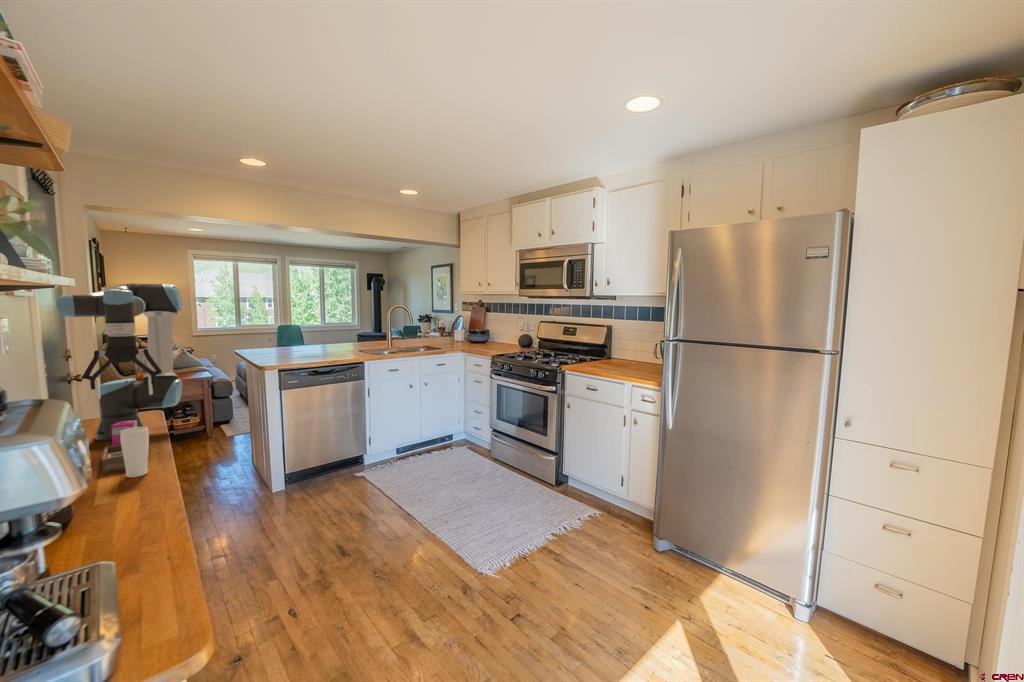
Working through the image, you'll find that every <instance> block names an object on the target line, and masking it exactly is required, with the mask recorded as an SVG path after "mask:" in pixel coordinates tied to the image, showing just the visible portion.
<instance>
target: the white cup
mask: <svg viewBox="0 0 1024 682" xmlns="http://www.w3.org/2000/svg"><path fill="white" fill-rule="evenodd" d="M120 440H121V448H122V453H123V459H124V464H125V476H126V477H127V478H129V479H130V478H138V477H143V476H145V475H146V474H148V472H149V468H148V467H149V447H150V435H149V427H147V426H144V427H133V428H127V429H124V430H122V431H120Z"/></svg>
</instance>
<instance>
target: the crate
mask: <svg viewBox="0 0 1024 682" xmlns="http://www.w3.org/2000/svg"><path fill="white" fill-rule="evenodd" d="M101 458H102V459H101V461H102V463H101V464H102V475H107V474H106V473H108V474H112V473H111V472H114V473H119V472H125V471H126V470H125V464H124V459H123V453H122V448H121V445H114V446H113V445H108V446H107V445H106V446H105V447H104V449H103V454H102V457H101ZM124 470H125V471H124ZM118 471H119V472H118Z"/></svg>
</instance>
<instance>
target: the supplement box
mask: <svg viewBox="0 0 1024 682" xmlns="http://www.w3.org/2000/svg"><path fill="white" fill-rule="evenodd" d="M133 427H137V420H133V421H122V422H117V423H115V424H114V425H112V426H111V433H112V440H111V441H112V446H114V445H121V440H120V431H122V430H124V429H127V428H133Z"/></svg>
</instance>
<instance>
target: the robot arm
mask: <svg viewBox="0 0 1024 682" xmlns="http://www.w3.org/2000/svg"><path fill="white" fill-rule="evenodd" d="M182 300H183V299H182V296H181V293H180V290H179V288H178V287H177V286H176V285H174V284H168V283H167V284H166V283H134V282H133V283H123V284H118V285H113V286H109V287H105V288H104V289H103V290H100V291H99V290H98V291H95V292H89V293H83V294H62V295H59V296H58V297H57V298H56V303H55V304H56V310H57V312H58V314H59V315H60V316H62V317H70V318H77V317H78V318H79V317H80V318H82V317H83V318H87V317H88V318H89V317H91V318H92V317H94V318H95V317H96V318H97V317H102V318H104V327H105V334H106V335H107V336H106V339H105V341H106V350H99V349H97V350H95V351H93V357H92V359H91V360H90V363H89V365H88V366H87V368H86V370H85V371H84V373H83V374H82V376H81V379H83V380H89V382H90V389H91V391H92V390H95V400H98V401H99V402H98V404H99V414H100V418H99V419H100V420H99V422H98V426H97V429H96V431H95V440H97V441H112V433H111V426H112V425H114V424H115V423H117V422H122V421H133V420H137V427H145V426H144V423H143V422H142V420H141V417H140V416H139V410H144V409H159V408H164V409H165V408H170V407H174V406H177V404H178V403H180V401H181V397H182V392H183V381H182V379H180V378H178V375H177V374H176V373H175V372H174V318H176V317H177V316H178V312H179V311H182V310H183V301H182ZM142 314H143V315H144V316H145V317H146V318H147V347H144V348H141V349H139V348H138V347H137V336H136V335H135V334H136V321H135V319H136V317H138V316H140V315H142ZM139 353H140V354H141V355H142V356H144V357H145V359H146V361H147V362H146V363H147V364H146V363H144V362H143V361H141V360H140V359H139V358H138V357H137V355H138V354H139ZM104 355H105V356H106V357H107V358H108V359H107V361H105V363H103V365H102V366H100V367H99V368H98V369H97V371H95V372H94V373H93V374H92V375H91V373H92V372H93V369H94V368H95V367H96V365H97V363H98V362H99V360H100V358H102V357H103V356H104ZM130 362H132V363H135V364H136V365H137V366H138V367H139V368H141V369H142V370H143V371H145V372H146V374H144V375H143V376H142V380H141V381H137V378H135V377H133V378H129V377H128V378H123V379H117V380H116V379H115V380H112V381H106V382H104V383H102V384H100V378H98V377H99V376H100V375H101V374H102V373H103V372H104V371H105V370H106V369H107V368H108V367H109V366H110V365H111V364H112V363H116V364H118V363H119V364H120V363H130Z"/></svg>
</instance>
